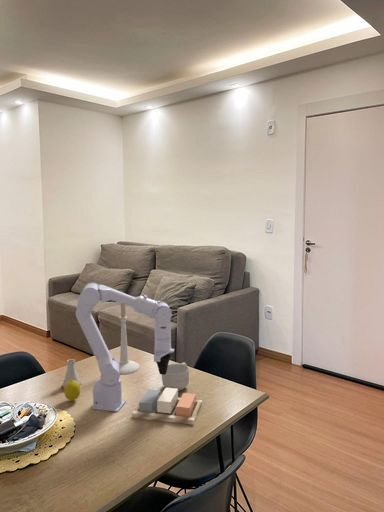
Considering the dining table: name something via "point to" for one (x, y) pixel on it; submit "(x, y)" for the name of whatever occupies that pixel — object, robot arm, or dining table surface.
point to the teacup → (176, 376)
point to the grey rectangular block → (149, 401)
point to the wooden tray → (168, 417)
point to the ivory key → (167, 400)
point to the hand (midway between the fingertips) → (163, 373)
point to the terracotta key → (186, 405)
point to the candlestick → (125, 347)
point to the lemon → (72, 390)
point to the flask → (71, 373)
